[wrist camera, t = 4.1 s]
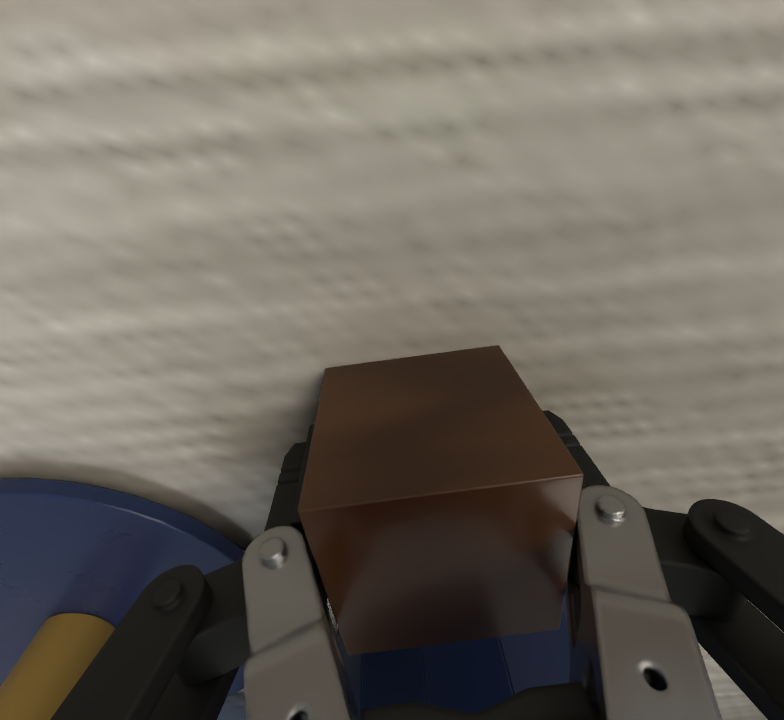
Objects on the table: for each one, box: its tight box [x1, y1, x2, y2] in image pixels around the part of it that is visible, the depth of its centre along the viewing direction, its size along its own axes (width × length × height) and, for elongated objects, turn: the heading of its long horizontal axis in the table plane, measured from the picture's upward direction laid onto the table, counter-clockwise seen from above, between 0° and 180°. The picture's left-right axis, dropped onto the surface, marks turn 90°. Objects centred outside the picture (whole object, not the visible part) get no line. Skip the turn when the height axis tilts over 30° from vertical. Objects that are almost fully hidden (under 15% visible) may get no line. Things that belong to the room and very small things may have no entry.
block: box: [298, 345, 584, 655], centre depth 10 cm, size 5×5×5 cm
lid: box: [0, 478, 245, 720], centre depth 13 cm, size 15×15×6 cm
